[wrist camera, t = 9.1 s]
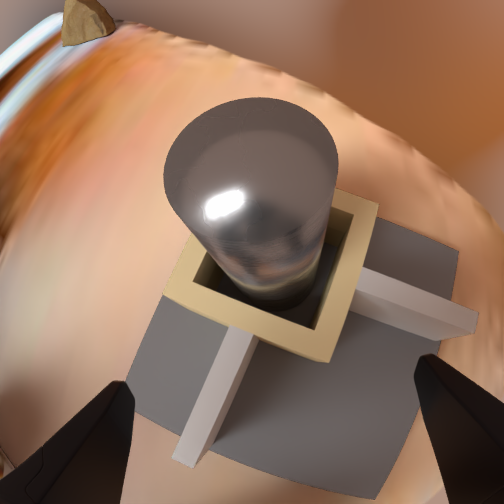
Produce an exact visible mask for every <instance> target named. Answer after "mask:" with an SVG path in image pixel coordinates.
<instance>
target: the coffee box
mask: <svg viewBox="0 0 504 504" xmlns="http://www.w3.org/2000/svg"><path fill="white" fill-rule="evenodd" d="M14 469H15V468H14V466H13V465H12V464H11V462H10V461H9V459H8V458H7V457H6V455H5V454H4V452H3V451H2V449H1V448H0V479H2V478H3V477H5V476H6V475H7V474H9V473H10V472H11V471H13V470H14Z"/></svg>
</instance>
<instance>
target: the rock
mask: <svg viewBox="0 0 504 504" xmlns="http://www.w3.org/2000/svg"><path fill="white" fill-rule="evenodd" d="M115 29H116V27H115V23H114V22H113V19H112V17H111V16H110V15H109V14H108V12H107V11H106V9H105V8H104V7H103V6H102V5H101V4H100V3H99V2H98V1H97V0H66V2H65V7H64V14H63V25H62V30H61V33H62V41H63V47H64V46H69V45H70V46H72V45H73V46H74V45H77V44H81V43H84V42H86V41H89V40H93V39H95V38H98V37H104V36H106V35H109V34H110V33H111V32H113V31H114V30H115Z"/></svg>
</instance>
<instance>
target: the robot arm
mask: <svg viewBox="0 0 504 504" xmlns="http://www.w3.org/2000/svg"><path fill="white" fill-rule="evenodd" d="M414 382H415V386H416V390H417V394H418V398H419V403H420V407H421V411H422V415H423V419H424V423H425V426H426V429H427V432H428V434H429V437H430V440H431V443H432V447H433V450H434V453H435V456H436V459H437V462H438V466H439V469H440V472H441V476H442V479H443V483H444V486H445V490H446V494H447V497H448V501H449V504H504V403H502V402H501V401H500V400H498V399H497V398H496V397H494V396H493V395H491V394H490V393H489V392H487V391H486V390H484V389H483V388H482V387H480V386H479V385H477V384H476V383H475V382H473V381H472V380H470V379H469V378H467V377H466V376H465V375H463V374H462V373H460V372H459V371H457V370H456V369H455V368H453V367H452V366H450V365H449V364H447V363H446V362H445V361H443V360H442V359H440V358H439V357H437V356H436V355H435V354H432V353H429V354H424V355H421V356H420V357H419V359H418V362H417V365H416V368H415V371H414ZM134 412H135V397H134V395H133V394H132V392H131V390H130V388H129V387H128V385H127V383H126V382H125V381H112V382H111V383H110V384H109V385H107V386H106V387H105V388H104V389H103V390H102V391H101V392H100V393H99V394H98V395H97V396H96V397H94V398H93V399H92V400H91V401H90V402H89V403H88V404H87V405H86V406H85V407H84V408H83V409H81V410H80V411H79V412H78V413H77V414H76V415H75V416H74V417H73V418H72V419H71V420H70V421H69V422H67V423H66V424H65V425H64V426H63V427H62V428H61V429H60V430H59V431H58V432H57V433H56V434H54V435H53V436H52V437H51V438H50V439H49V440H48V441H47V442H46V443H45V444H44V445H43V447H40V448H39V449H38V450H37V451H36V452H35V453H34V454H33V455H31V456H30V457H29V458H28V459H27V460H26V461H24V462H23V463H22V464H21V465H19V466H18V467H17V468H15V469H14V470H13V471H11V472H10V473H9V474H7V475H6V476H5V477H3V478H2V479H0V504H120V500H121V494H122V488H123V483H124V478H125V472H126V467H127V462H128V457H129V452H130V447H131V441H132V431H133V421H134Z"/></svg>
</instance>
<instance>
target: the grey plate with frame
mask: <svg viewBox="0 0 504 504" xmlns="http://www.w3.org/2000/svg"><path fill="white" fill-rule="evenodd" d="M378 208H379V204H378V203H375V202H372V201H370V200H367V199H365V198H362V197H359V196H357V195H354V194H351V193H348V192H346V191H343V190H340V189H337V188H335V190H334V195H333V200H332V205H331V210H330V215H329V220H328V224H327V229H326V233H325V238H324V242H323V247H322V251H321V256H320V260H319V264H318V268H317V272H316V277H315V281H314V284H313V287H312V289H311V291H310V293H309V295H308V296H307V297H306V298H305V300H304V301H302V302H301V303H300V304H299V305H297V306H295V307H294V308H292V309H289V310H285V311H279V312H273V311H266V310H263V309H261V308H258V307H256V306H255V305H253V304H252V303H251V302H250V301H249V300H248V299H247V298H246V297H245V296H244V295H243V293H242V292H241V291H240V290H239V289H238V287H237V286H236V285H235V284H234V283H233V282H232V280H231V279H230V278H229V277H228V276H227V274H226V273H225V272H224V271H223V270H222V268H221V267H220V266H219V265H218V264H217V262H216V261H215V260H214V259H213V258H212V256H211V255H210V254H209V253H208V252H207V250H206V249H205V248H204V247H203V246H202V244H201V243H200V242H199V241H198V239H197V238H196V237H195V236H194V235H193V233H191V235H190V237H189V239H188V241H187V243H186V245H185V247H184V249H183V251H182V253H181V255H180V257H179V259H178V262H177V264H176V266H175V268H174V270H173V272H172V274H171V276H170V278H169V280H168V282H167V285H166V287H165V289H164V291H163V293H162V294H163V295H162V298H161V300H160V302H159V304H158V306H157V308H156V311H155V313H154V315H153V317H152V320H151V322H150V324H149V326H148V329H147V331H146V333H145V335H144V338H143V340H142V342H141V345H140V347H139V349H138V352H137V354H136V356H135V359H134V361H133V364H132V366H131V368H130V371H129V373H128V376H127V378H126V381H125V382H126V383H127V385H128V387H129V388H130V390H131V392H132V394H133V395H134V397H135V412H137V413H139V414H140V415H142V416H144V417H146V418H147V419H149V420H151V421H153V422H154V423H156V424H158V425H160V426H162V427H164V428H166V429H167V430H169V431H171V432H173V433H175V434H177V435H179V436H181V437H180V440H179V442H178V444H177V446H176V448H175V451H174V453H173V455H172V457H171V458H172V459H174V460H176V461H178V462H180V463H182V464H184V465H186V466H188V467H190V468H192V469H193V468H194V467H195V466H196V465H197V463H198V462H199V461H200V460H201V458H202V457H203V456H204V455H205V453H206V452H207V451H208V450H211V451H213V452H215V453H217V454H220V455H222V456H224V457H227V458H229V459H232V460H234V461H237V462H239V463H242V464H244V465H247V466H250V467H252V468H255V469H258V470H261V471H263V472H266V473H269V474H272V475H275V476H278V477H281V478H284V479H288V480H291V481H294V482H298V483H301V484H305V485H308V486H312V487H316V488H319V489H323V490H328V491H332V492H336V493H341V494H345V495H350V496H355V497H361V498H366V499H372V500H375V499H376V497H377V495H378V494H379V492H380V490H381V488H382V487H383V485H384V483H385V481H386V479H387V477H388V475H389V474H390V472H391V470H392V468H393V466H394V464H395V462H396V460H397V458H398V456H399V453H400V451H401V449H402V447H403V445H404V443H405V441H406V438H407V436H408V434H409V431H410V429H411V427H412V424H413V422H414V419H415V417H416V415H417V412H418V409H419V407H420V403H419V398H418V394H417V390H416V386H415V382H414V371H415V368H416V365H417V362H418V359H419V357H420V356H421V355H424V354H429V353H432V354H435V355H436V356H437V353H438V350H439V346H440V342H441V340H443V339H449V338H454V337H459V336H465V335H469V334H474V333H475V330H476V325H477V320H478V315H479V312H476V311H474V310H471V309H469V308H466V307H464V306H461V305H459V304H456V303H454V302H452V301H451V296H452V291H453V285H454V280H455V274H456V268H457V261H458V254H459V251H457V250H455V249H453V248H450V247H448V246H446V245H444V244H441V243H439V242H437V241H434V240H432V239H430V238H428V237H425V236H423V235H420V234H418V233H416V232H413V231H411V230H409V229H406V228H404V227H401V226H399V225H396V224H394V223H391V222H389V221H386V220H384V219H381V218H379V217H376V216H377V212H378Z"/></svg>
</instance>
